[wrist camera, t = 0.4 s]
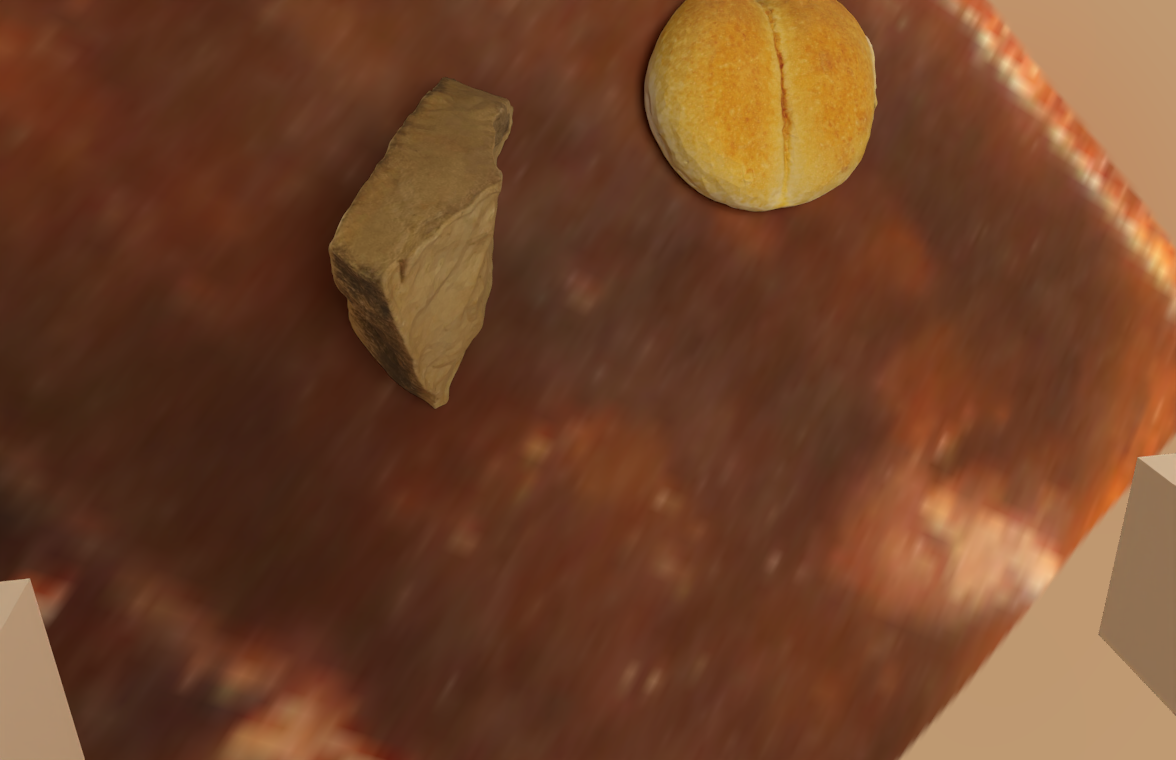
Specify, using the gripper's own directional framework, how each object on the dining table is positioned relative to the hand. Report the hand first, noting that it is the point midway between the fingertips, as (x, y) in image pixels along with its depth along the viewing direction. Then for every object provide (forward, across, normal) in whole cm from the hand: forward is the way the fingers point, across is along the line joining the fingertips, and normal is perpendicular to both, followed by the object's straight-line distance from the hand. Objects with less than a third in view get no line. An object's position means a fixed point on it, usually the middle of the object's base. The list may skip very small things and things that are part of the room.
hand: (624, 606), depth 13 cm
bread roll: (+30, +11, 0) cm, 32 cm away
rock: (+27, -2, -3) cm, 27 cm away
